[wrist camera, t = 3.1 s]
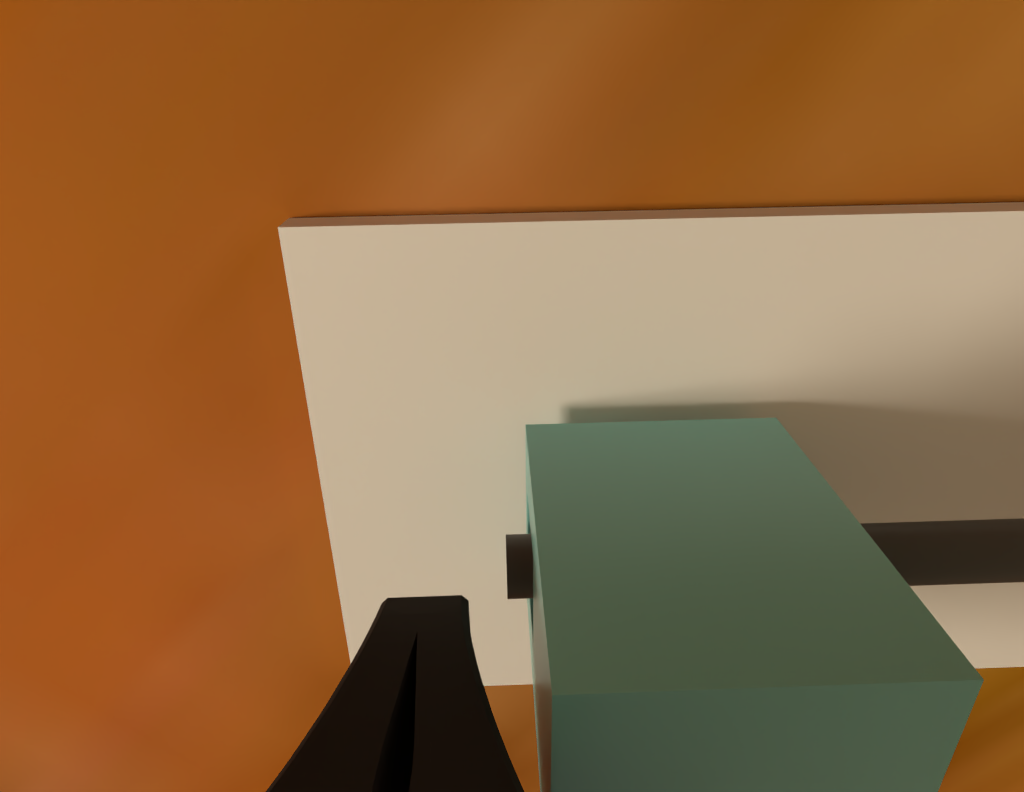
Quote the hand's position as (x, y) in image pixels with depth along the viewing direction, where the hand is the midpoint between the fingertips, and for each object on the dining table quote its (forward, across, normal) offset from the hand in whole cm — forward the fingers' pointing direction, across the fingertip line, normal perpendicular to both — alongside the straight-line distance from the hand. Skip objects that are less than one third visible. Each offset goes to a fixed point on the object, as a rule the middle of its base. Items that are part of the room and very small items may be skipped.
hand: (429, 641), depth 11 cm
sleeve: (+3, -4, 0) cm, 5 cm away
